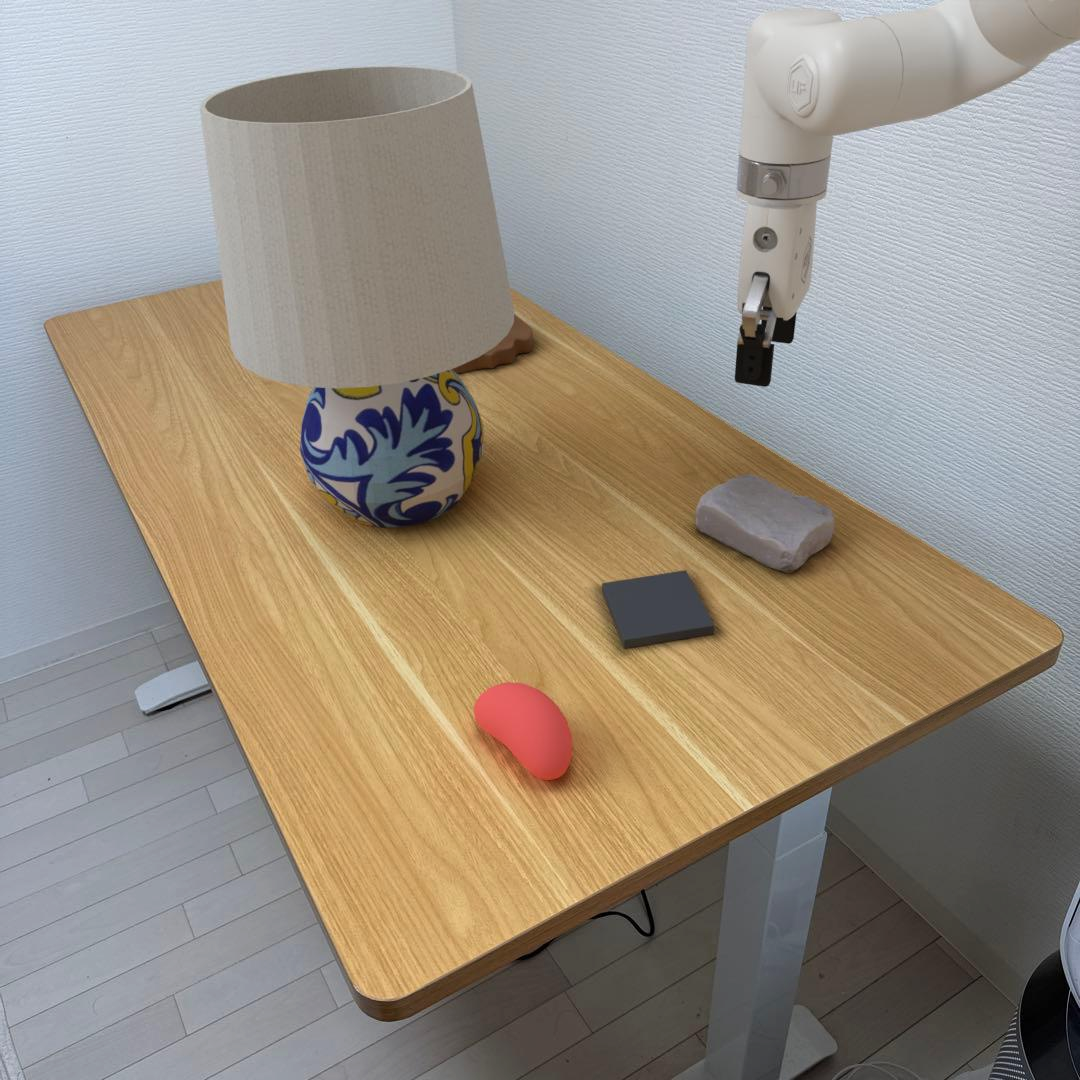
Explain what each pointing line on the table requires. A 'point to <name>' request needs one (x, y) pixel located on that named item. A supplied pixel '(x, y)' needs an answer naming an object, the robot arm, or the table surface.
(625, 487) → the table surface
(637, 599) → the felt pad
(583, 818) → the table surface
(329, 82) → the table lamp
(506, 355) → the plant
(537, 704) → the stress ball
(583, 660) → the table surface
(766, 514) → the stone block
